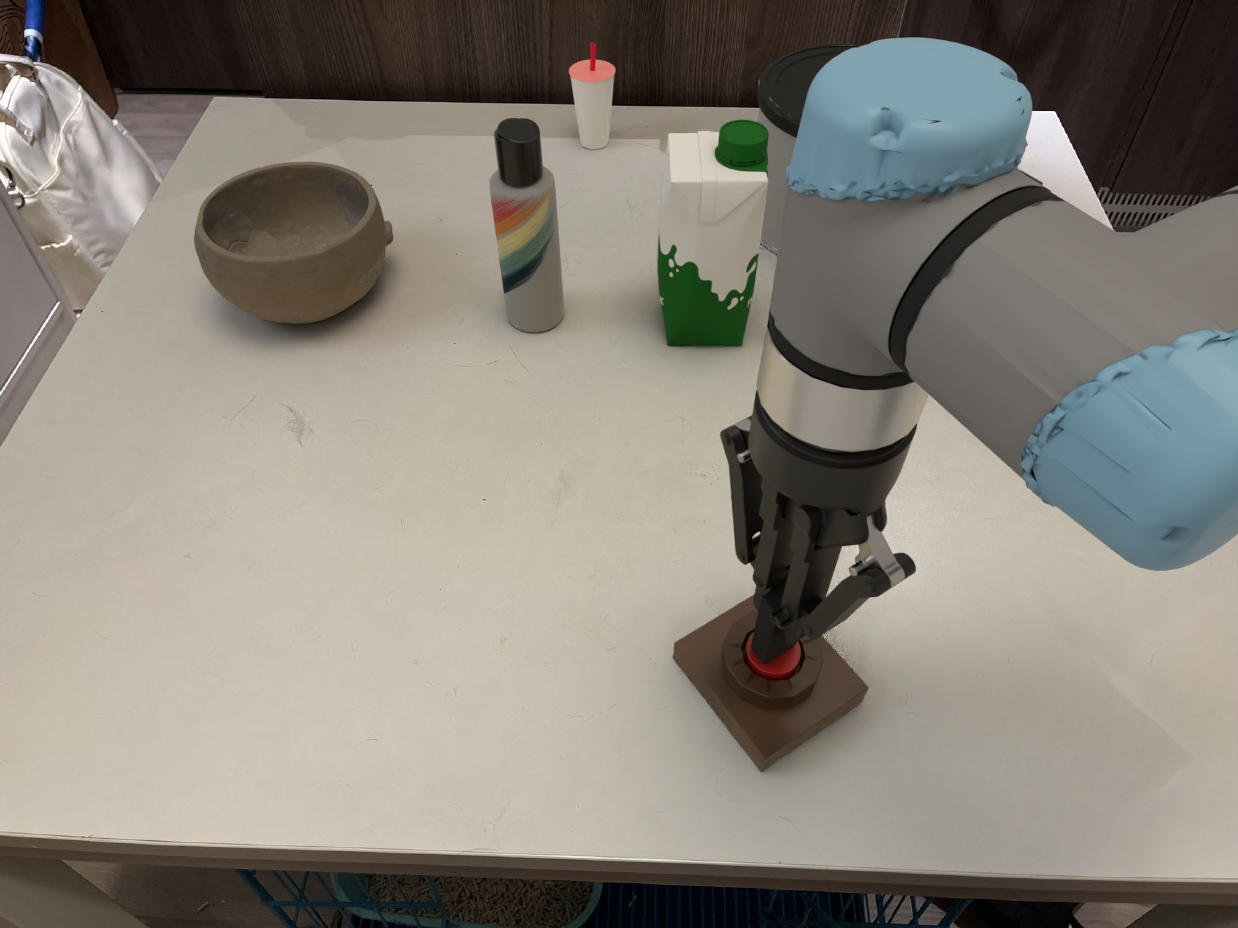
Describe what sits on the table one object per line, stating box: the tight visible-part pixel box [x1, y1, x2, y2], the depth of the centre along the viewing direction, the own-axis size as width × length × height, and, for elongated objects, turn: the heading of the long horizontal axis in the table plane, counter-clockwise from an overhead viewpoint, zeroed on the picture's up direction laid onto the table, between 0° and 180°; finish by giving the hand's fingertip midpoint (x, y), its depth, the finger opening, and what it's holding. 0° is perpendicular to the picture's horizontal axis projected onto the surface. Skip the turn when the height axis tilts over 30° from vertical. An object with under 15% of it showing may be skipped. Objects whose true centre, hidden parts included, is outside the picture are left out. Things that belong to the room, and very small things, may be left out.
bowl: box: [193, 161, 394, 324], centre depth 87 cm, size 17×18×10 cm
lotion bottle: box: [488, 117, 565, 334], centre depth 80 cm, size 6×6×20 cm
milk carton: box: [656, 119, 769, 347], centre depth 80 cm, size 9×9×20 cm
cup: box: [568, 41, 617, 150], centre depth 104 cm, size 5×5×12 cm
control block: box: [672, 594, 870, 773], centre depth 61 cm, size 10×9×4 cm
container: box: [756, 43, 865, 255], centre depth 92 cm, size 19×19×15 cm
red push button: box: [744, 632, 801, 681], centre depth 60 cm, size 4×4×2 cm
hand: (773, 646), depth 59 cm, fingers closed
